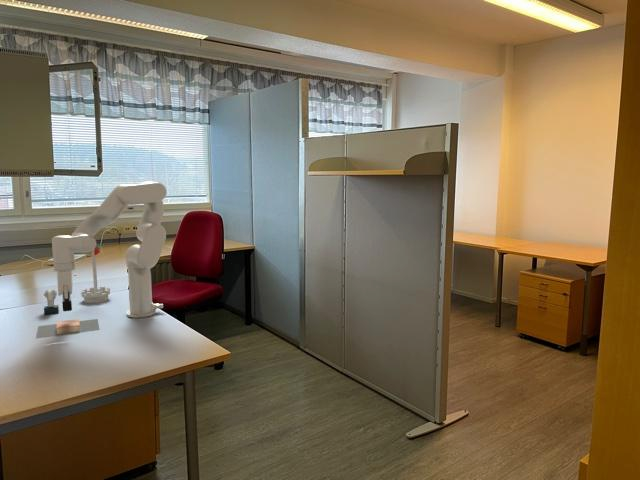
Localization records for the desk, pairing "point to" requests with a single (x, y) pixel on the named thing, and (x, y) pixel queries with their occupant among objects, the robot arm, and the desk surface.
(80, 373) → the desk surface
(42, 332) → the mat
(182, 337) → the desk surface
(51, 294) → the watch
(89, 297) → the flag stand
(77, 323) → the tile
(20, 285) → the desk surface
